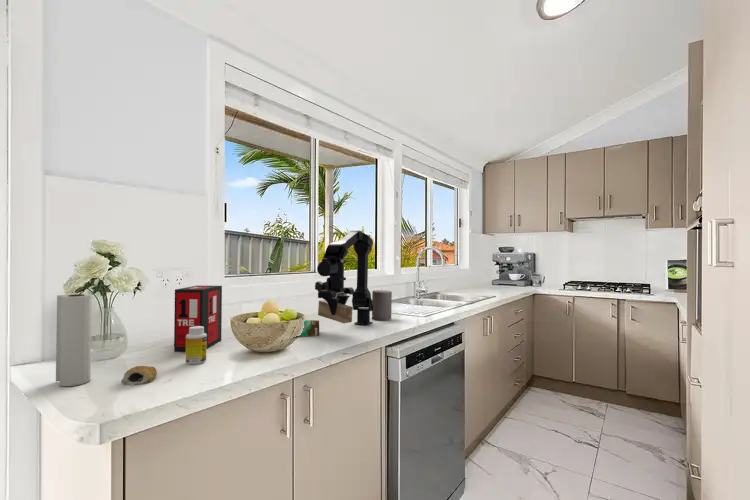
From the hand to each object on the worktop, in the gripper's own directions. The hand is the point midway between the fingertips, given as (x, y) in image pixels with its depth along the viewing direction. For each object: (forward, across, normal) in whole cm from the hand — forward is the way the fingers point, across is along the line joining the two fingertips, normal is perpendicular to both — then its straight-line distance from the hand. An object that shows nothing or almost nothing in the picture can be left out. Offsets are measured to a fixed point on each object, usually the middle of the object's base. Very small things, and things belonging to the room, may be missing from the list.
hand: (336, 314), depth 159 cm
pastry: (+8, +72, -14) cm, 73 cm away
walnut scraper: (+2, 0, -1) cm, 2 cm away
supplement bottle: (+8, +54, -15) cm, 57 cm away
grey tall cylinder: (+7, +80, -26) cm, 85 cm away
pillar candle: (+8, -42, +1) cm, 43 cm away
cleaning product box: (+8, +39, -31) cm, 51 cm away
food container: (+5, +2, -7) cm, 8 cm away
